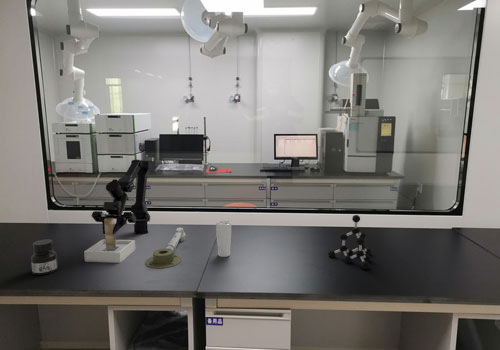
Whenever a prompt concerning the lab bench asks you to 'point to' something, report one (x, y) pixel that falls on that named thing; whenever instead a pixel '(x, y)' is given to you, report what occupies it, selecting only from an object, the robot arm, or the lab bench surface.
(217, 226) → the drinking glass
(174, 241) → the light grey piece
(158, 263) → the flange
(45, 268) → the ink bottle
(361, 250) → the molecular model
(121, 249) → the box
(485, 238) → the lab bench surface
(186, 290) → the lab bench surface
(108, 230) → the peg
